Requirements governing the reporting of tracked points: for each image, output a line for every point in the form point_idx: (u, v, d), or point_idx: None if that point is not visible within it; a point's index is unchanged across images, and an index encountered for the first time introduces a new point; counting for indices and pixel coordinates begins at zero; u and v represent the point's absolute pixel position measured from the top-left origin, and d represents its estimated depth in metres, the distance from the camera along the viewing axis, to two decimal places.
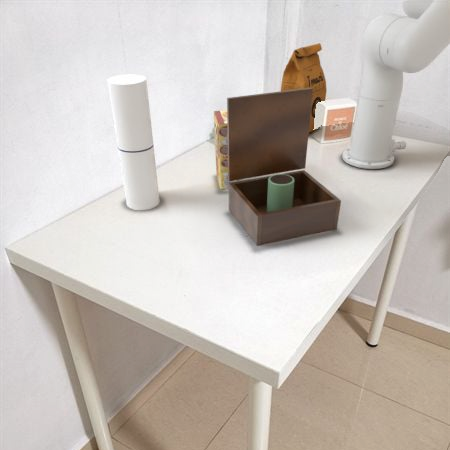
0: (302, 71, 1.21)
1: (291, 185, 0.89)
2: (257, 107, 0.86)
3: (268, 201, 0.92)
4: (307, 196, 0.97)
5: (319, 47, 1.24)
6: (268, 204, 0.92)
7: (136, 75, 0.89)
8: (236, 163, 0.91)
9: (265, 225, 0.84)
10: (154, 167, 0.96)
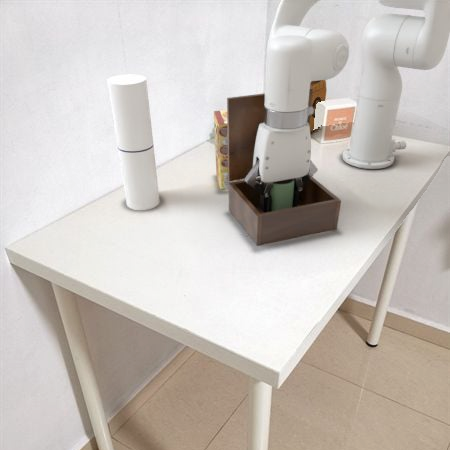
0: None
1: (291, 185, 0.89)
2: (257, 107, 0.86)
3: None
4: (307, 196, 0.97)
5: None
6: None
7: (136, 75, 0.89)
8: (236, 163, 0.91)
9: (265, 225, 0.84)
10: (154, 167, 0.96)
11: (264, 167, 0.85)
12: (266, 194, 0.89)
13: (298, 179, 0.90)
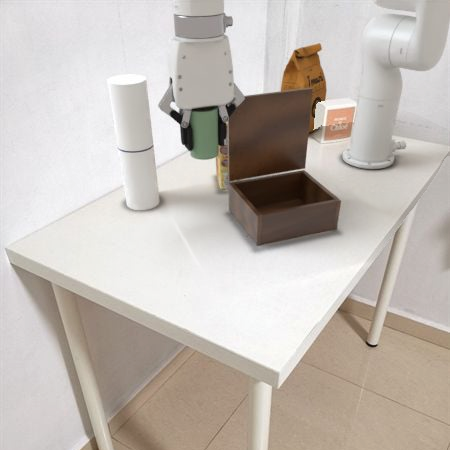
0: (302, 71, 1.21)
1: (213, 113, 0.77)
2: (257, 107, 0.86)
3: None
4: (307, 196, 0.97)
5: (319, 47, 1.24)
6: None
7: (136, 75, 0.89)
8: (236, 163, 0.91)
9: (265, 225, 0.84)
10: (154, 167, 0.96)
11: (177, 88, 0.73)
12: (184, 124, 0.78)
13: (222, 107, 0.78)
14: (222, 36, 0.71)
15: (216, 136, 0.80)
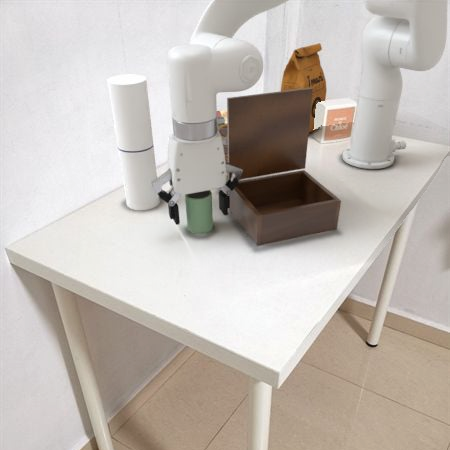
0: (302, 71, 1.21)
1: (207, 199, 0.87)
2: (257, 107, 0.86)
3: (187, 215, 0.90)
4: (307, 196, 0.97)
5: (319, 47, 1.24)
6: (187, 218, 0.90)
7: (136, 75, 0.89)
8: (236, 163, 0.91)
9: (265, 225, 0.84)
10: (154, 167, 0.96)
11: (176, 179, 0.82)
12: (171, 203, 0.86)
13: (225, 183, 0.87)
14: (215, 135, 0.80)
15: (210, 217, 0.90)
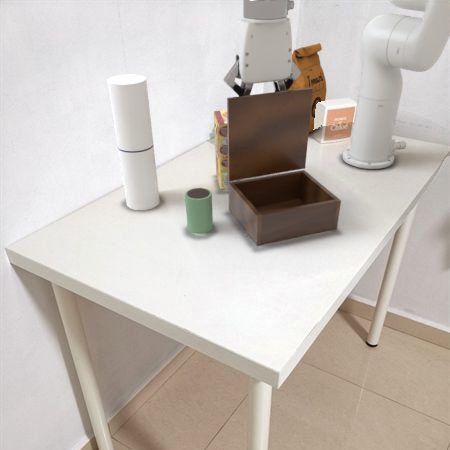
0: (302, 71, 1.21)
1: (207, 199, 0.87)
2: (257, 107, 0.86)
3: (187, 215, 0.90)
4: (307, 196, 0.97)
5: (319, 47, 1.24)
6: (187, 218, 0.90)
7: (136, 75, 0.89)
8: (236, 163, 0.91)
9: (265, 225, 0.84)
10: (154, 167, 0.96)
11: (244, 64, 0.83)
12: None
13: (281, 82, 0.88)
14: (285, 17, 0.80)
15: (210, 217, 0.90)
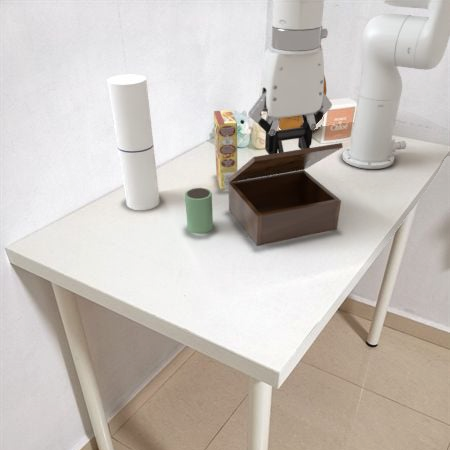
0: None
1: (207, 199, 0.87)
2: (280, 159, 0.82)
3: (187, 215, 0.90)
4: (307, 196, 0.97)
5: None
6: (187, 218, 0.90)
7: (136, 75, 0.89)
8: (241, 177, 0.90)
9: (265, 225, 0.84)
10: (154, 167, 0.96)
11: (271, 98, 0.76)
12: (272, 132, 0.80)
13: (311, 115, 0.80)
14: (318, 48, 0.73)
15: (210, 217, 0.90)
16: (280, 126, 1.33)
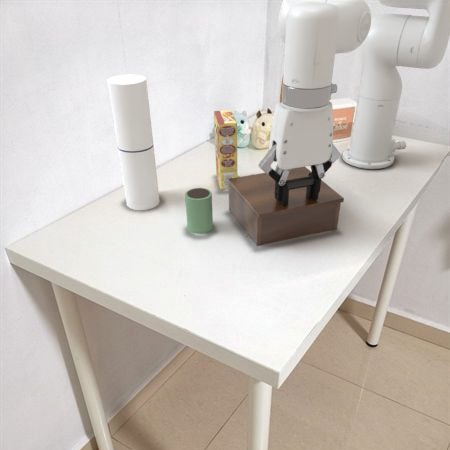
0: None
1: (207, 199, 0.87)
2: None
3: (187, 215, 0.90)
4: None
5: None
6: (187, 218, 0.90)
7: (136, 75, 0.89)
8: None
9: (265, 225, 0.84)
10: (154, 167, 0.96)
11: (282, 152, 0.77)
12: (282, 182, 0.81)
13: (320, 165, 0.81)
14: (328, 104, 0.74)
15: (210, 217, 0.90)
16: None
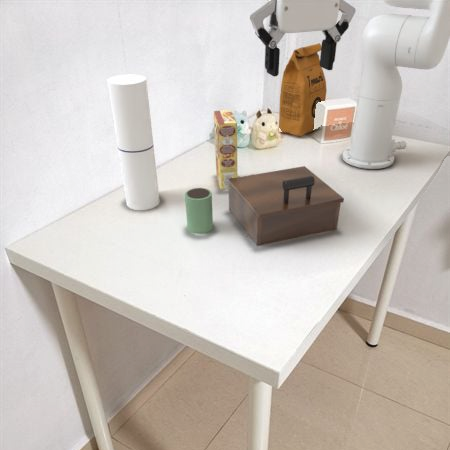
0: (302, 71, 1.21)
1: (207, 199, 0.87)
2: None
3: (187, 215, 0.90)
4: None
5: (319, 47, 1.24)
6: (187, 218, 0.90)
7: (136, 75, 0.89)
8: None
9: (265, 225, 0.84)
10: (154, 167, 0.96)
11: (283, 7, 0.68)
12: (273, 44, 0.71)
13: None
14: None
15: (210, 217, 0.90)
16: (280, 126, 1.33)
